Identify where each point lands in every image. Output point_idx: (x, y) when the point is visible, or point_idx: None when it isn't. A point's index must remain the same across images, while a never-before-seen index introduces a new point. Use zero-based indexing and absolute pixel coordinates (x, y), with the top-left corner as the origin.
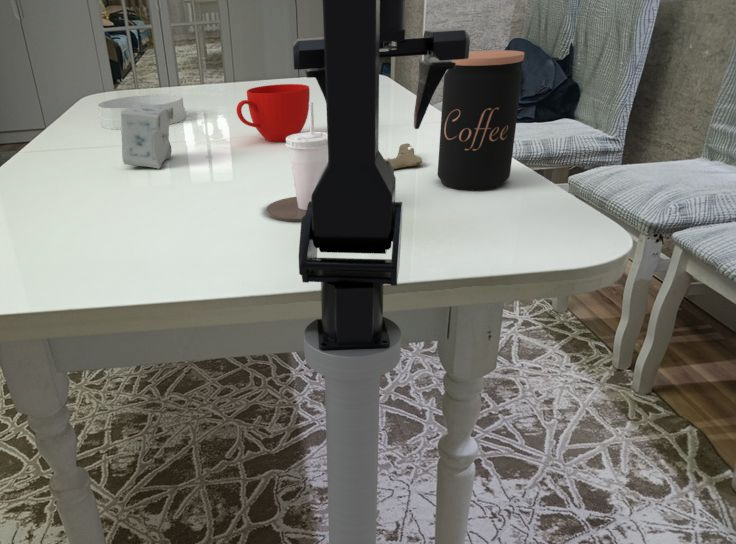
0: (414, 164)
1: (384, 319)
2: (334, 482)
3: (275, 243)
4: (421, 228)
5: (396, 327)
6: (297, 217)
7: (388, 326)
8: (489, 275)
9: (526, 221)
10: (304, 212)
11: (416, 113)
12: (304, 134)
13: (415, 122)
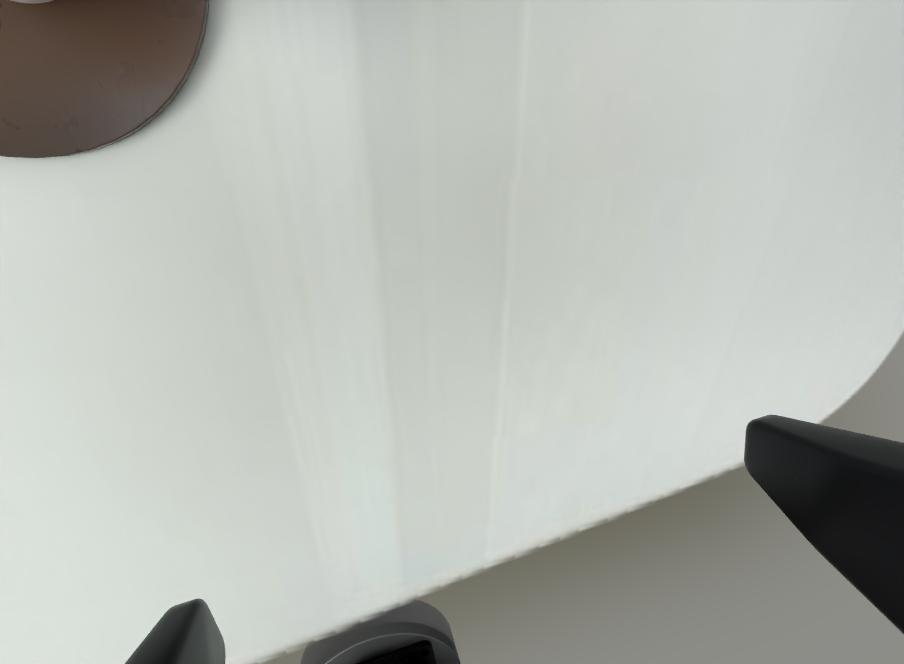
0: None
1: (434, 645)
2: None
3: (45, 406)
4: (534, 224)
5: (454, 660)
6: (11, 133)
7: (442, 661)
8: (635, 506)
9: (816, 152)
10: (15, 45)
11: (836, 533)
12: None
13: (777, 485)
